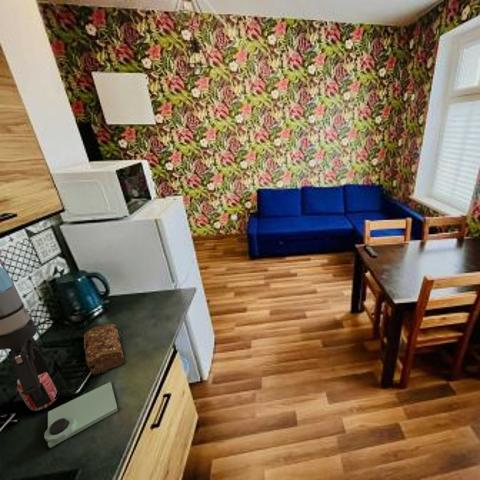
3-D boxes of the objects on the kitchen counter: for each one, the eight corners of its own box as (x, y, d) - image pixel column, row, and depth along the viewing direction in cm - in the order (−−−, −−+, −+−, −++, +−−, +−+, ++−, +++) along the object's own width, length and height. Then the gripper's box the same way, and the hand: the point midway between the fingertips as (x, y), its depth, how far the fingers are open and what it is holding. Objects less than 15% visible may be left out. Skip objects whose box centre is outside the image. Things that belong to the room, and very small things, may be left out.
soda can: (24, 408, 86) (8, 382, 81) (51, 389, 92) (37, 364, 87) (38, 416, 83) (22, 389, 79) (64, 396, 90) (51, 370, 85)
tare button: (51, 437, 75) (49, 433, 75) (51, 427, 78) (49, 423, 77) (68, 428, 78) (66, 424, 77) (68, 419, 80) (66, 415, 79)
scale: (48, 451, 75) (44, 444, 73) (48, 415, 84) (44, 409, 83) (118, 412, 85) (115, 406, 84) (111, 384, 94) (109, 378, 93)
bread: (90, 348, 109) (81, 329, 105) (121, 336, 115) (114, 318, 112) (91, 378, 96) (82, 358, 92) (127, 363, 102) (119, 343, 99)
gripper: (31, 346, 60) (65, 409, 68) (31, 298, 76) (59, 354, 84) (-21, 365, 55) (23, 431, 63) (-8, 310, 71) (25, 368, 79)
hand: (43, 387), depth 74 cm, fingers open, 13 cm apart
